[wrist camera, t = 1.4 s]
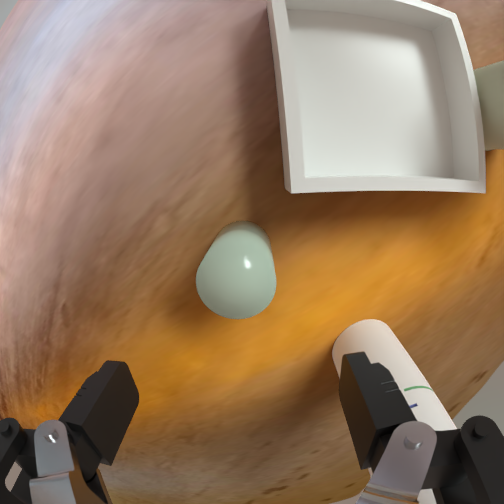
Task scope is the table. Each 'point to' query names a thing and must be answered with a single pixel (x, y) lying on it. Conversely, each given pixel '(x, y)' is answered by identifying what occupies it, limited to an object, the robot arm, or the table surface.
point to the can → (491, 103)
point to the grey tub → (375, 97)
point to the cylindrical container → (395, 375)
